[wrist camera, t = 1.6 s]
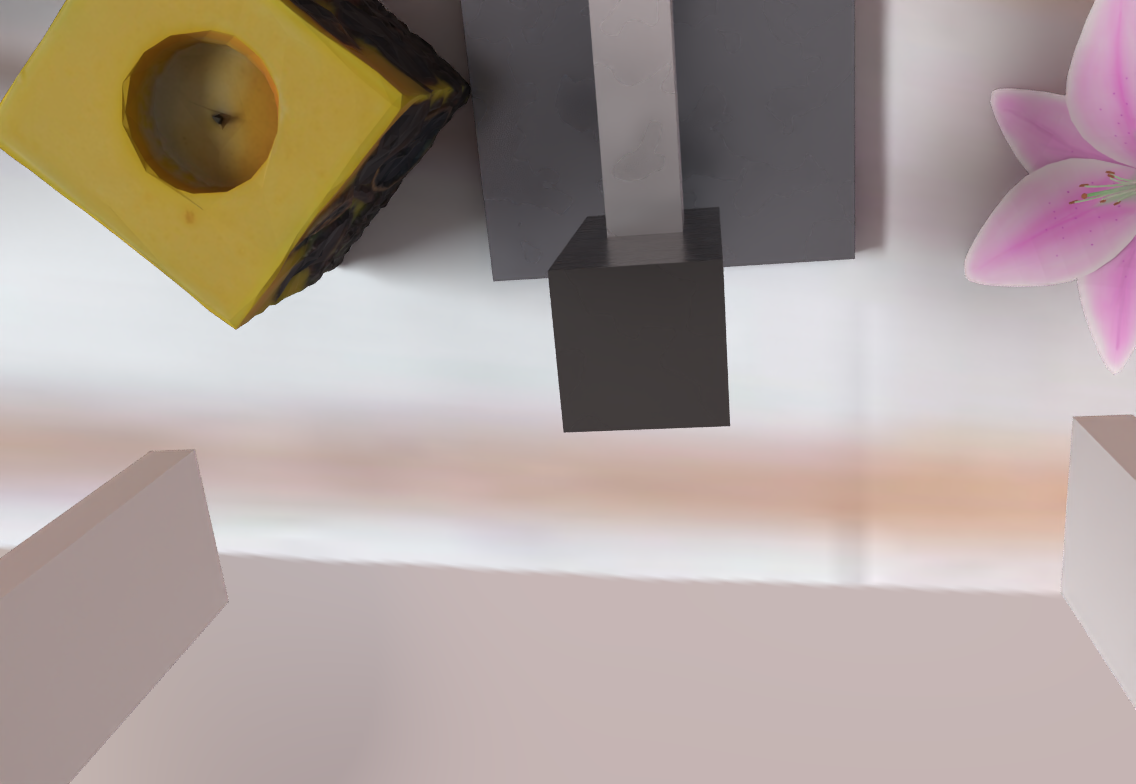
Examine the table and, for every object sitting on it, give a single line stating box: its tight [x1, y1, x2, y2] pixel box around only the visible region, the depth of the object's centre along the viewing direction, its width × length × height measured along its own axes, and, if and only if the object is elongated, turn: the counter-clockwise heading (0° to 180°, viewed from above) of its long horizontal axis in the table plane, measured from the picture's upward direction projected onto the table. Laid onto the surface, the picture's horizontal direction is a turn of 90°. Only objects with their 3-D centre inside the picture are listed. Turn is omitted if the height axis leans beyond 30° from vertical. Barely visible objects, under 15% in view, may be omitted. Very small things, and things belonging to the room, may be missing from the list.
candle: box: [0, 0, 471, 329], centre depth 35 cm, size 10×10×10 cm
